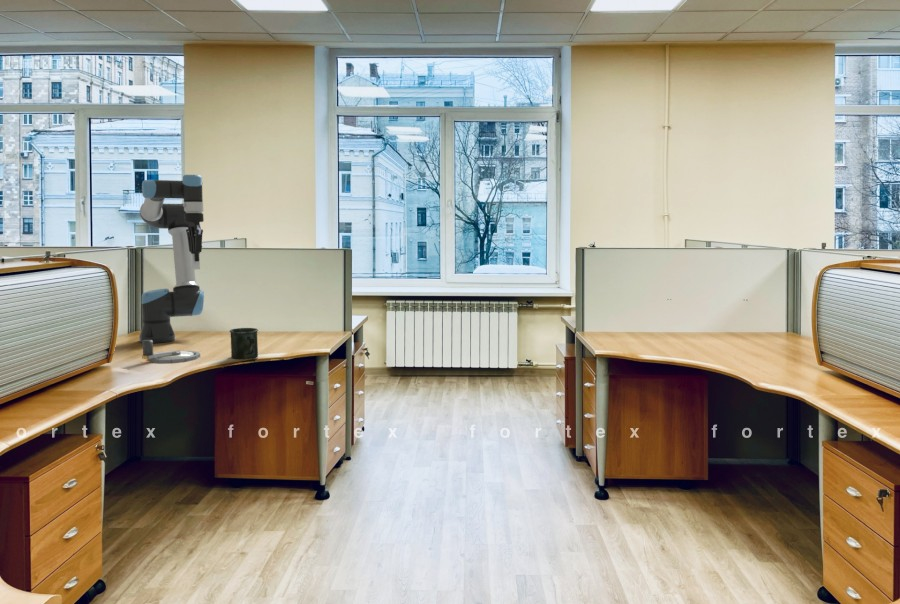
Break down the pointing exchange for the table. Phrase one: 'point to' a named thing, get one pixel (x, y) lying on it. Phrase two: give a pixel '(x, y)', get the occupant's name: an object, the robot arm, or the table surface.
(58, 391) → the table surface
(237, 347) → the mug
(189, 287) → the robot arm
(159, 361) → the panel
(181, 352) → the dial
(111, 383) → the table surface
